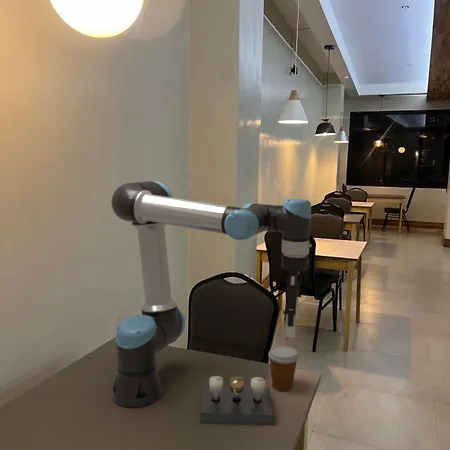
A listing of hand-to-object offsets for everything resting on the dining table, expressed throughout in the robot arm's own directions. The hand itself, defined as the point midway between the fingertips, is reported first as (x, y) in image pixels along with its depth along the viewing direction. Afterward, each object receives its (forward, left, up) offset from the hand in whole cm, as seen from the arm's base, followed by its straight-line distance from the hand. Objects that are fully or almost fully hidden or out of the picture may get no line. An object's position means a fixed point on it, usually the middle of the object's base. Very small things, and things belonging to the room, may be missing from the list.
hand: (291, 327), depth 127 cm
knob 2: (-8, -5, -21) cm, 23 cm away
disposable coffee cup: (-5, +11, -25) cm, 28 cm away
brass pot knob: (-14, -7, -21) cm, 26 cm away
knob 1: (-19, -9, -21) cm, 30 cm away
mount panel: (-14, -7, -25) cm, 29 cm away
